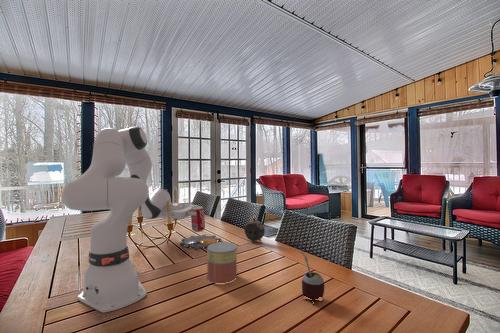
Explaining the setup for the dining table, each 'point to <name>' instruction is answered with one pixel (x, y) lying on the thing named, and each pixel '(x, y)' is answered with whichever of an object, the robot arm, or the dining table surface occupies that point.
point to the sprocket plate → (199, 241)
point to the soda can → (198, 219)
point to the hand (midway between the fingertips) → (199, 212)
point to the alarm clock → (254, 230)
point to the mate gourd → (312, 283)
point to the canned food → (221, 262)
